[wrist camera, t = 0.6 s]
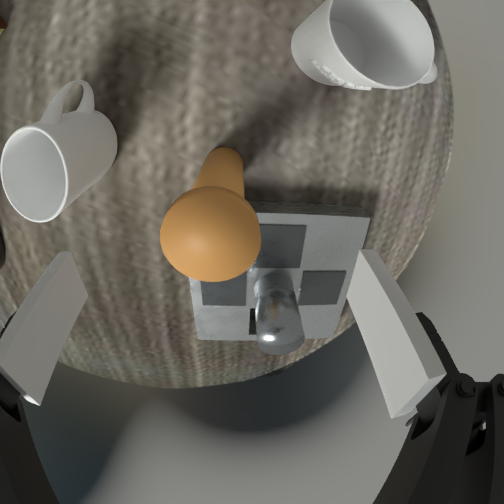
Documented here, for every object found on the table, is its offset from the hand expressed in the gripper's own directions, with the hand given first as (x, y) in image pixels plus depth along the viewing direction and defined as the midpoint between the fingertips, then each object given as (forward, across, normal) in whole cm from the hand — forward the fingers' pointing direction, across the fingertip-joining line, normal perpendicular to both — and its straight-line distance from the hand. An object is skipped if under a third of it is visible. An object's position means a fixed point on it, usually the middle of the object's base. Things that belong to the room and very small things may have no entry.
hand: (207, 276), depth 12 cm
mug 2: (+19, +12, +12) cm, 26 cm away
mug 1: (+19, -15, +5) cm, 25 cm away
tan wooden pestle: (+19, 0, 0) cm, 19 cm away
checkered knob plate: (+19, +5, -15) cm, 24 cm away
